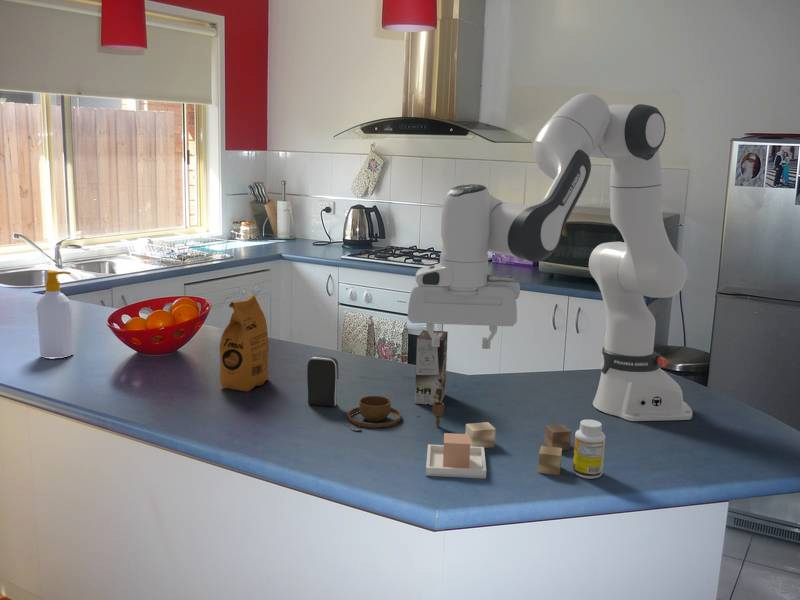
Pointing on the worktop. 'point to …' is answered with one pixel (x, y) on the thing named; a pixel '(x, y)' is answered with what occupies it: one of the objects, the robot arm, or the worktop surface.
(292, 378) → the worktop surface
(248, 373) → the coffee package
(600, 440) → the supplement bottle
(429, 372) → the coffee box
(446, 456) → the terracotta block
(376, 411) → the place setting
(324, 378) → the battery charger
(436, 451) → the tray
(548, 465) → the oak block
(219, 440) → the worktop surface
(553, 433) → the walnut block
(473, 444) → the beech block
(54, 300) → the soap bottle
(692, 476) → the worktop surface
